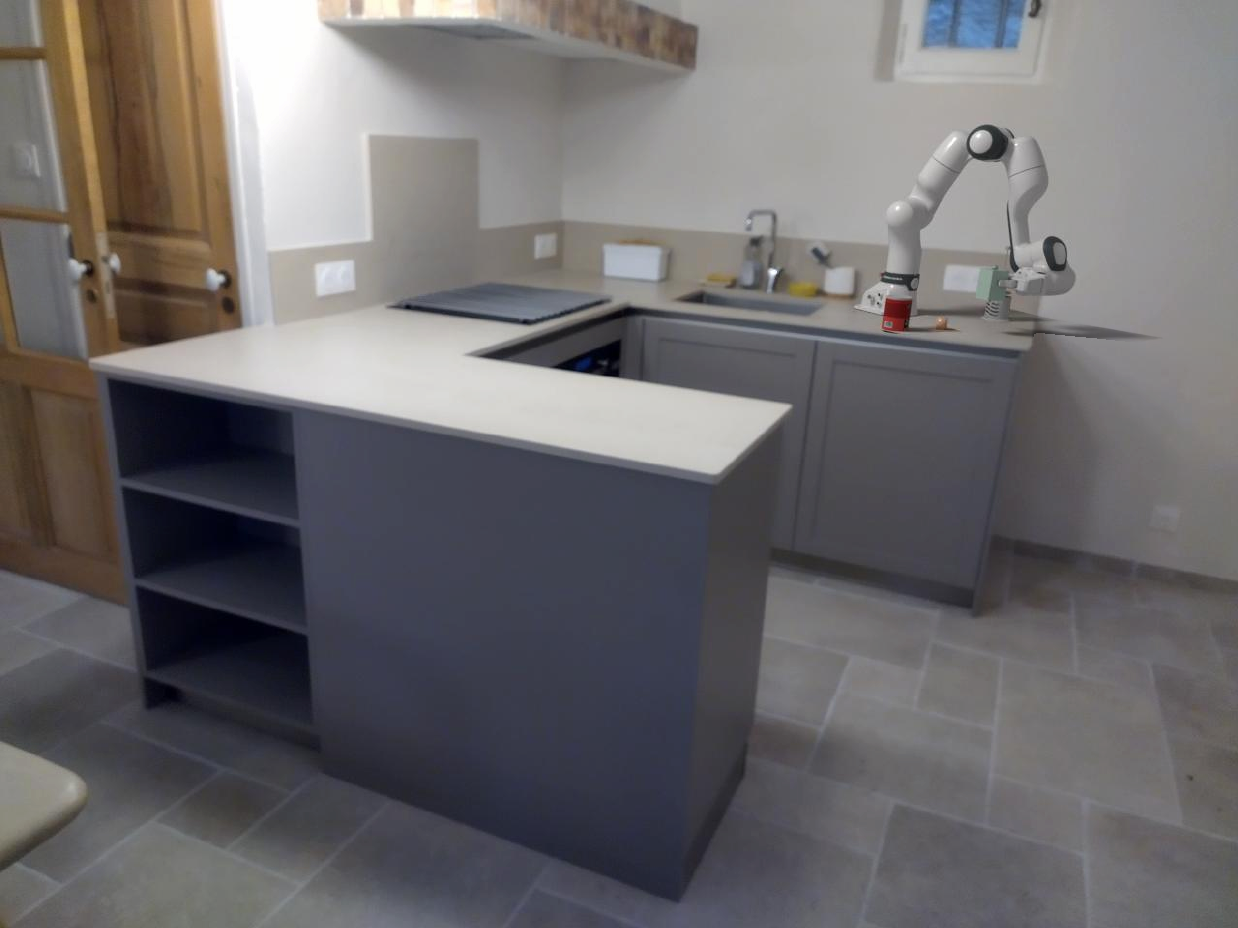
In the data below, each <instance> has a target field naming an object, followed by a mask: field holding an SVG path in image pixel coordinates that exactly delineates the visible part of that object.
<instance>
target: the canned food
mask: <svg viewBox="0 0 1238 928" xmlns="http://www.w3.org/2000/svg"><path fill="white" fill-rule="evenodd" d="M912 301H913V297H910V296H905V295H886V300H885V307H884V315H882V316H883V317H882V324H881V329H882V330H881V331H882V332H884V333H887V334H888V333H889V334H896V335H897V334H898V335H900V333H898V332H901V333H902V332H908V331H909V327H910V320H911V316H910V315H911V308H912Z"/></svg>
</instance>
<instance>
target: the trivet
mask: <svg viewBox="0 0 1238 928" xmlns="http://www.w3.org/2000/svg"><path fill="white" fill-rule="evenodd" d="M922 328H923V329H926V330H930V331H933V332H937V333H951V332H953V333H955V332H958V333H961V332H963V331H962V330H958V329H955V328H952V327H948V326H947V328H946V330H939V329H936V325H935V326H934V325H933V326H927V325H926V326H922Z"/></svg>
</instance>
